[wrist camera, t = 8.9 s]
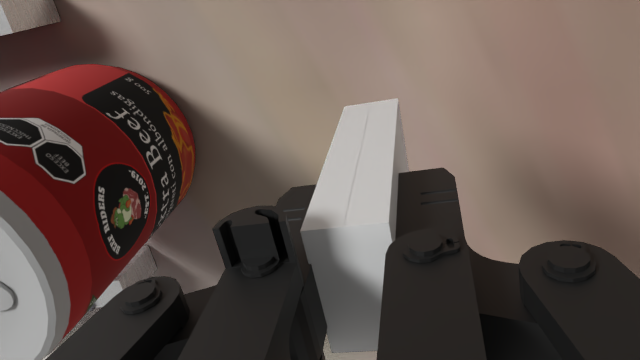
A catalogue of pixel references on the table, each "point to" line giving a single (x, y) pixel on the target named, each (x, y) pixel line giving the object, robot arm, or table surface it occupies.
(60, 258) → the canned food
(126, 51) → the table surface
